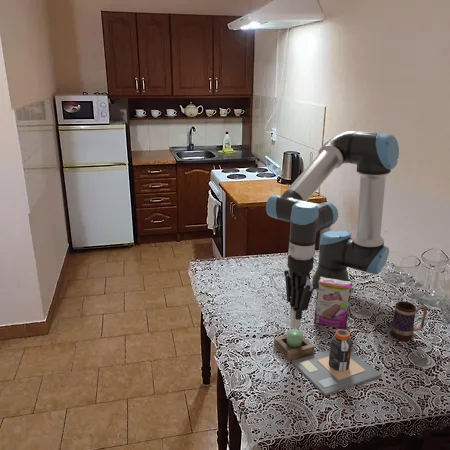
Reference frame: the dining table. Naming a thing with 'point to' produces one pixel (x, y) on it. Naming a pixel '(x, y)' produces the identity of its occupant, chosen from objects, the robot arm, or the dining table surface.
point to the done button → (294, 338)
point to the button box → (295, 353)
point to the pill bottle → (340, 350)
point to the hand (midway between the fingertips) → (295, 326)
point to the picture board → (334, 372)
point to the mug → (405, 321)
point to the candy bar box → (332, 302)
